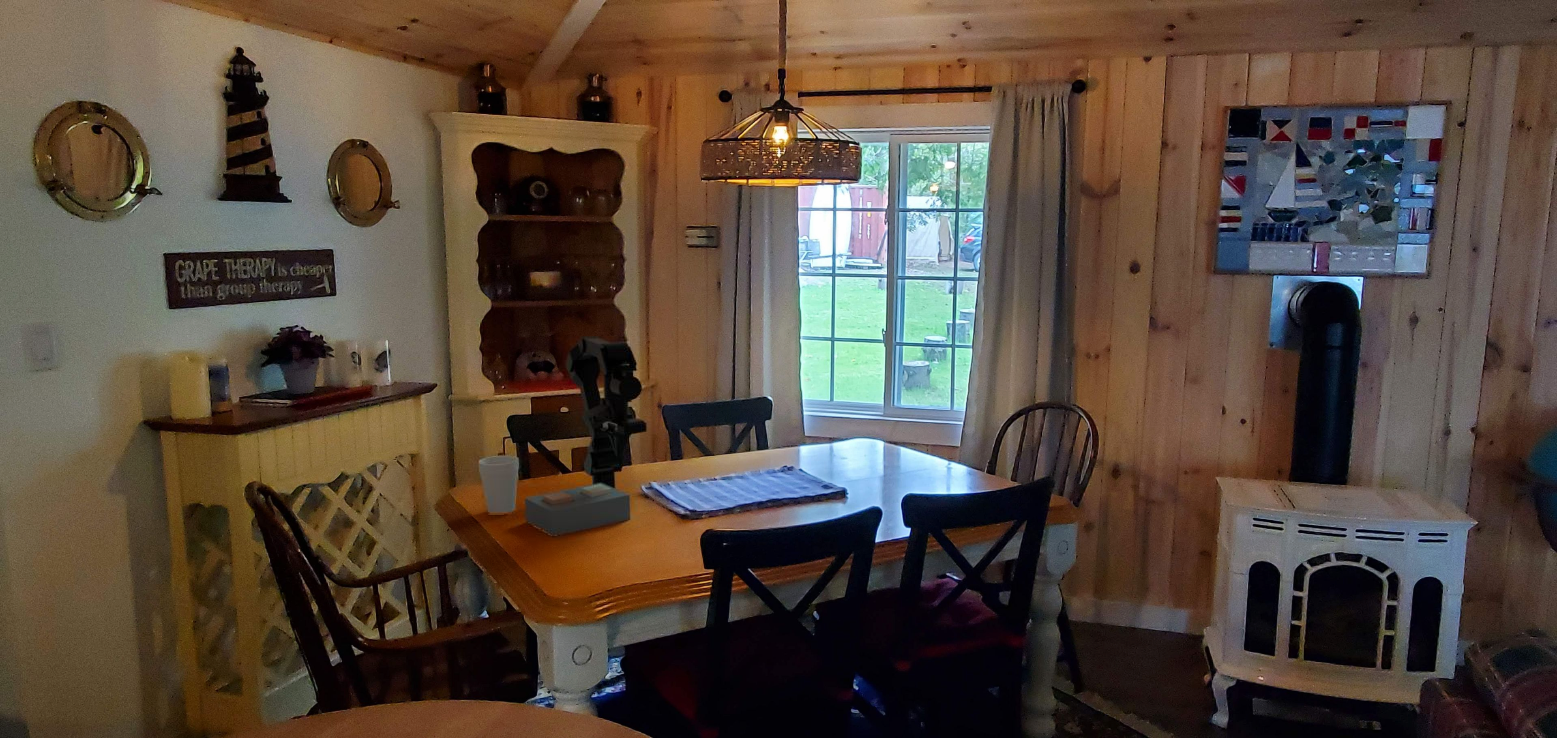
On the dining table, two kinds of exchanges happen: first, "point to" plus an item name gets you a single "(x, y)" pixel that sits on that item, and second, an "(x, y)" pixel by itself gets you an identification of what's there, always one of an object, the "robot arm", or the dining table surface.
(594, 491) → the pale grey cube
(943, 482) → the dining table surface
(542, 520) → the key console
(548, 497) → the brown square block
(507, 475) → the foam cup
